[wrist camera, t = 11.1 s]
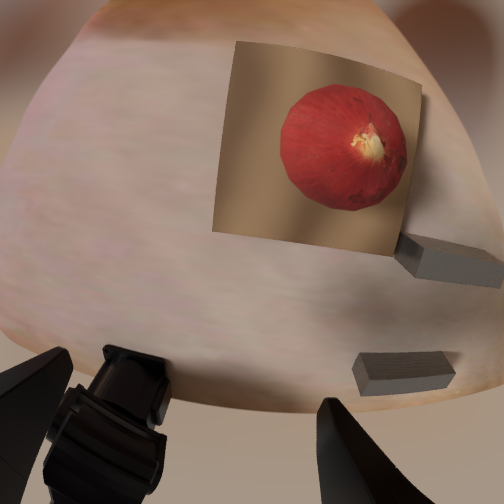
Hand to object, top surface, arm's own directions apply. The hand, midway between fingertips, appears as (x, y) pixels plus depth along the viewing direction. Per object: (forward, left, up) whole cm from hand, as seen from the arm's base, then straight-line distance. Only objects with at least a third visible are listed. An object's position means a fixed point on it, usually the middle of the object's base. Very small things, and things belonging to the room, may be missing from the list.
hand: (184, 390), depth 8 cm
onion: (+5, +8, -11) cm, 14 cm away
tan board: (+5, +8, -12) cm, 15 cm away
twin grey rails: (+17, -3, -12) cm, 21 cm away
